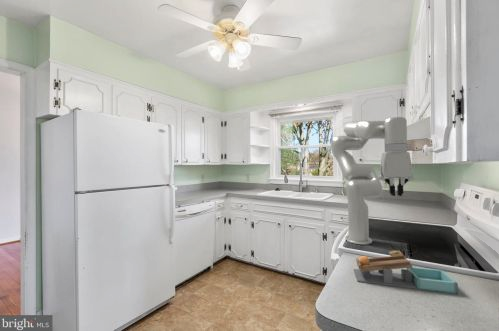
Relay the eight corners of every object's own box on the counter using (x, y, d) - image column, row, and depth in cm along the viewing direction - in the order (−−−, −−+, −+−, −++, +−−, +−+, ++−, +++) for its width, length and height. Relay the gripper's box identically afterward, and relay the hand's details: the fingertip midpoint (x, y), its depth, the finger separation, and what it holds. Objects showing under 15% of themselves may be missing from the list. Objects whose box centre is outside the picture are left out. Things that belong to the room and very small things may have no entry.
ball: (363, 265, 83) (356, 258, 84) (370, 259, 83) (363, 252, 83) (364, 269, 80) (358, 261, 81) (372, 263, 79) (365, 256, 80)
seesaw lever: (355, 260, 92) (353, 251, 92) (400, 255, 87) (398, 246, 87) (360, 274, 79) (358, 264, 79) (414, 270, 75) (411, 259, 75)
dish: (406, 275, 82) (406, 266, 82) (441, 279, 79) (441, 269, 79) (417, 289, 73) (417, 279, 73) (457, 293, 70) (457, 283, 70)
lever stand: (353, 270, 87) (353, 257, 87) (406, 275, 82) (406, 262, 82) (357, 281, 78) (357, 267, 78) (417, 288, 73) (416, 273, 73)
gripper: (414, 149, 93) (415, 194, 93) (371, 150, 98) (372, 193, 98) (423, 147, 86) (423, 197, 86) (375, 149, 91) (376, 196, 91)
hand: (396, 195), depth 92 cm, fingers closed
